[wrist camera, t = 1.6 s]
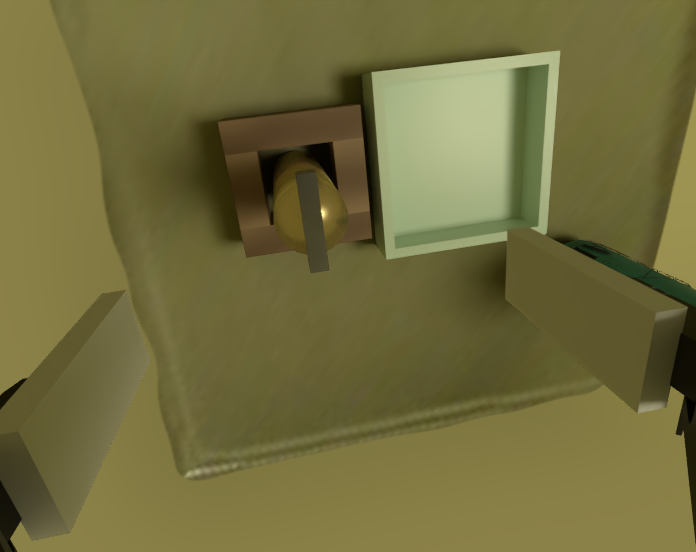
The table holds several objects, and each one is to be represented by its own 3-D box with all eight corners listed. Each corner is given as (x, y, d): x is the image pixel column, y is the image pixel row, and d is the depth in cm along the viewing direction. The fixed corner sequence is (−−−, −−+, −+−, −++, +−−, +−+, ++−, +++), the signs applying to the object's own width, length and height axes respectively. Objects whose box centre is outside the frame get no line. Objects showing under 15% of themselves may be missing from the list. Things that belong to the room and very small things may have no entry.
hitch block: (223, 119, 34) (217, 122, 30) (351, 103, 35) (360, 104, 31) (248, 241, 38) (246, 257, 34) (362, 224, 39) (372, 238, 35)
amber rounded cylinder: (268, 146, 35) (264, 179, 21) (317, 139, 36) (346, 168, 22) (279, 209, 37) (282, 277, 23) (325, 202, 38) (356, 265, 24)
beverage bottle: (565, 303, 45) (761, 444, 27) (518, 277, 43) (696, 410, 25) (606, 250, 44) (844, 361, 25) (559, 219, 42) (782, 317, 23)
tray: (361, 74, 34) (371, 72, 31) (530, 55, 36) (560, 50, 32) (375, 244, 40) (386, 259, 36) (522, 221, 41) (546, 234, 37)
